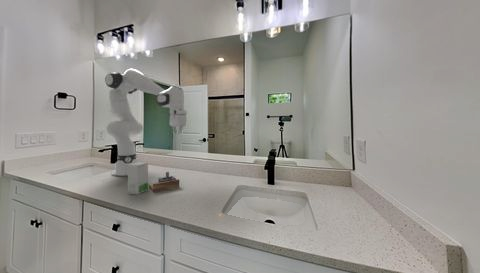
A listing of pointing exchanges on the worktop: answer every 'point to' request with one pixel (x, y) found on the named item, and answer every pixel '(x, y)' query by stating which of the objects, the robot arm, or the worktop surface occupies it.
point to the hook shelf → (164, 185)
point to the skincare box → (137, 177)
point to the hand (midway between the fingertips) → (177, 133)
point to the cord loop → (166, 179)
